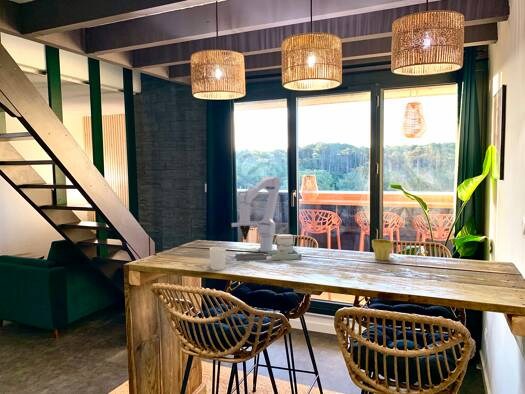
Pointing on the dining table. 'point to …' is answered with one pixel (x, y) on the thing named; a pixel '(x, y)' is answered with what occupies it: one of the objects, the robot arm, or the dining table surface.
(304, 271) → the dining table surface
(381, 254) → the plant pot
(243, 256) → the printer bay
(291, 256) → the tray
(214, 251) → the white cup
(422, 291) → the dining table surface
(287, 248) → the ink box
